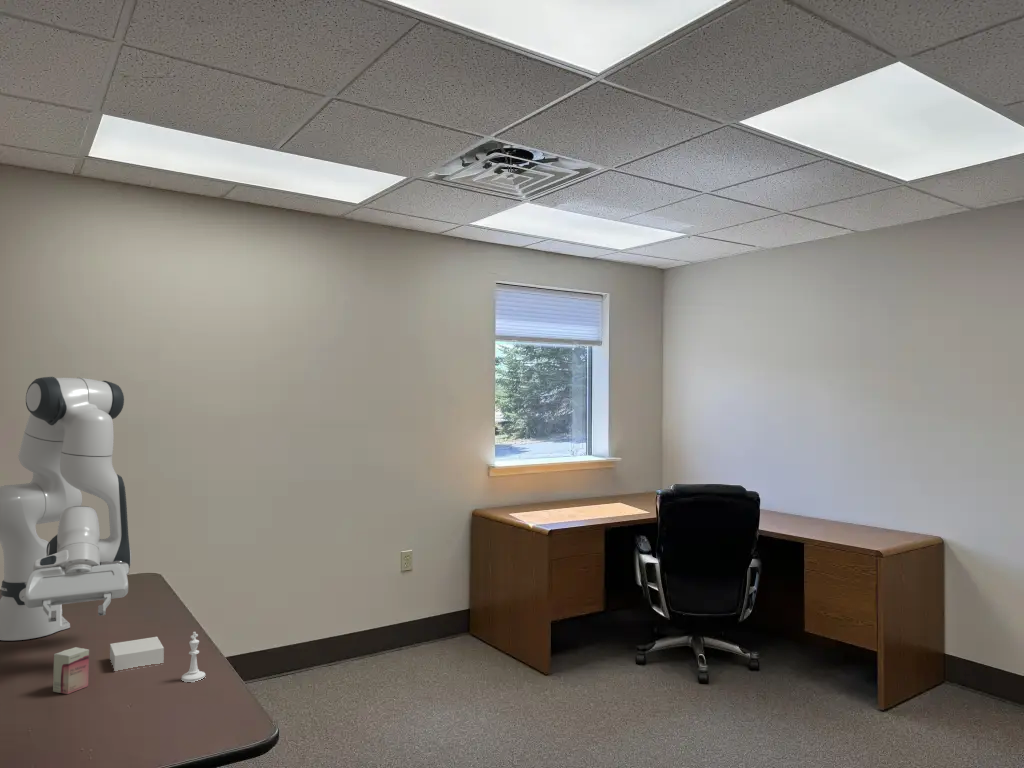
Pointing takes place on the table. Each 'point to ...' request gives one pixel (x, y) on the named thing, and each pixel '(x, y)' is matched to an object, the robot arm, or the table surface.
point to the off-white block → (136, 653)
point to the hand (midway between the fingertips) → (77, 617)
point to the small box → (70, 670)
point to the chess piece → (193, 663)
